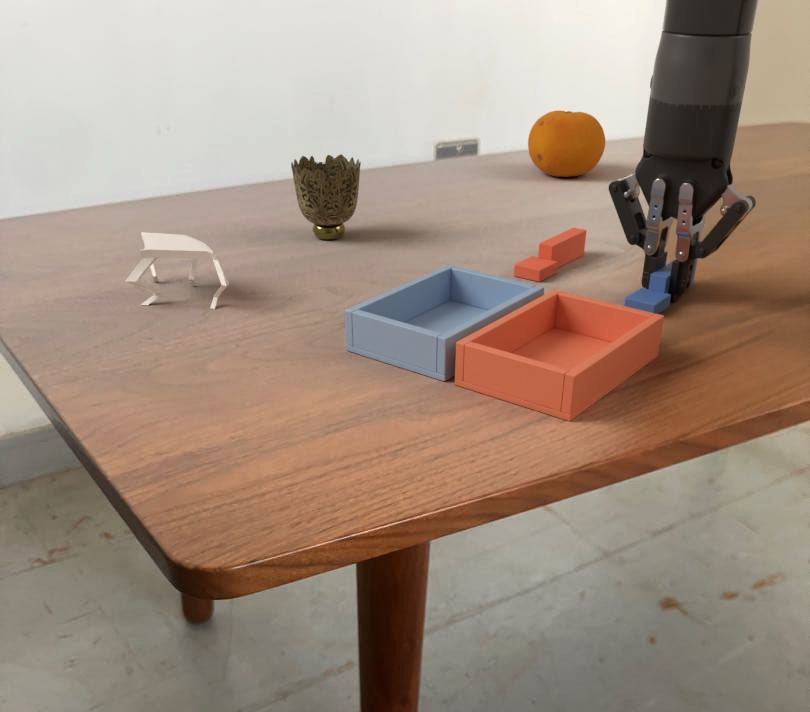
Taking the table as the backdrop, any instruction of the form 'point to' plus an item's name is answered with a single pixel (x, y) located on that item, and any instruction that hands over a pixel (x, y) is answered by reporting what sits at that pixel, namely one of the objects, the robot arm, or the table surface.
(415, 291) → the blue bin
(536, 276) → the salmon l-shaped block
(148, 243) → the origami figure
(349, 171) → the cup
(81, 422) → the table surface
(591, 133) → the fruit
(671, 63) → the robot arm
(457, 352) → the coral bin
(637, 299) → the blue stepped bar
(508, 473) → the table surface
